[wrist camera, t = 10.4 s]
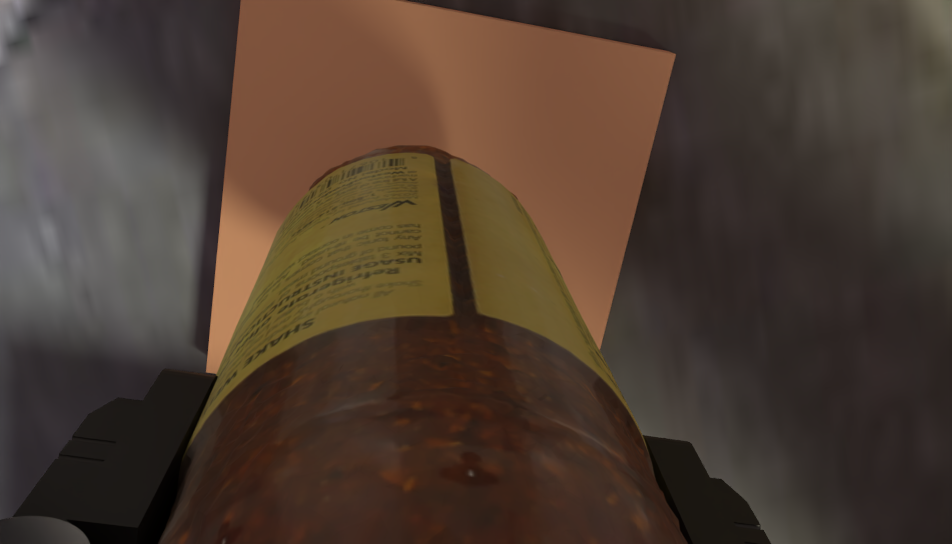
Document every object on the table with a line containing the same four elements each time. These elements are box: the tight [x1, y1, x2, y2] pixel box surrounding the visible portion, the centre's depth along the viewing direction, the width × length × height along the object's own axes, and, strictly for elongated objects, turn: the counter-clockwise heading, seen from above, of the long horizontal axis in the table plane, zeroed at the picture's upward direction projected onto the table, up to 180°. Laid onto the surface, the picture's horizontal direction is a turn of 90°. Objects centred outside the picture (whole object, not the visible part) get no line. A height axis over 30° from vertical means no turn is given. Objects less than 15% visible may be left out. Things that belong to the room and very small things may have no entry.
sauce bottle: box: [158, 145, 688, 544], centre depth 11 cm, size 6×6×20 cm
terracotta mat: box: [206, 0, 676, 374], centre depth 24 cm, size 11×11×1 cm
